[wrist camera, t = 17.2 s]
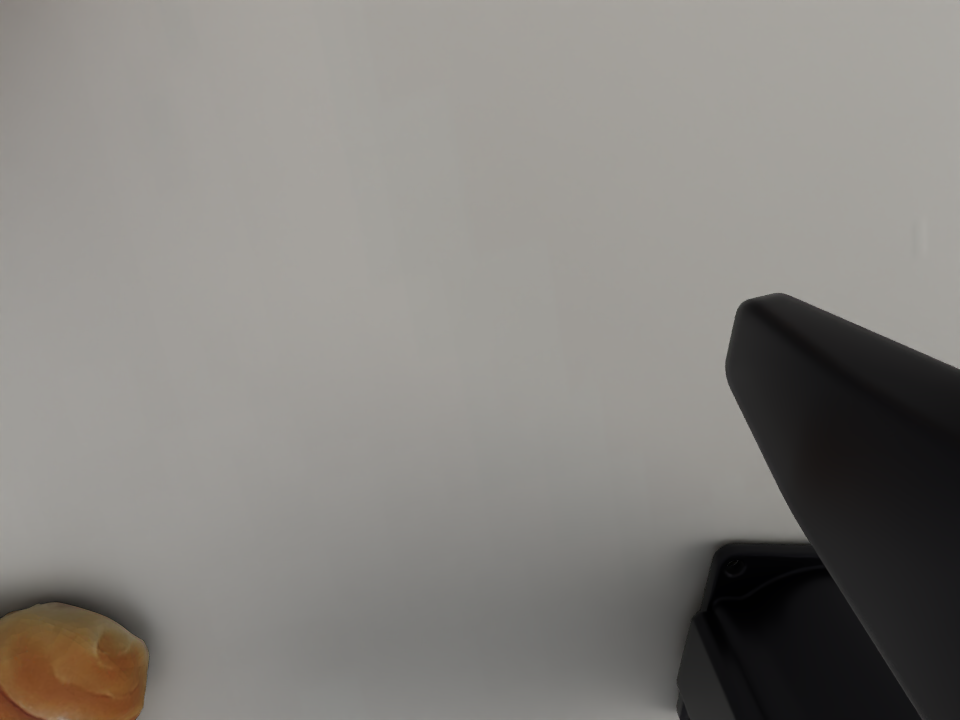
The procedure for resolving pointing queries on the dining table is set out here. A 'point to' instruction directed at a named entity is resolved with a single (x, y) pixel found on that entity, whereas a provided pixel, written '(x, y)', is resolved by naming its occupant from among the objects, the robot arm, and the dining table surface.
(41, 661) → the pastry
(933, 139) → the dining table surface
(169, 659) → the dining table surface
